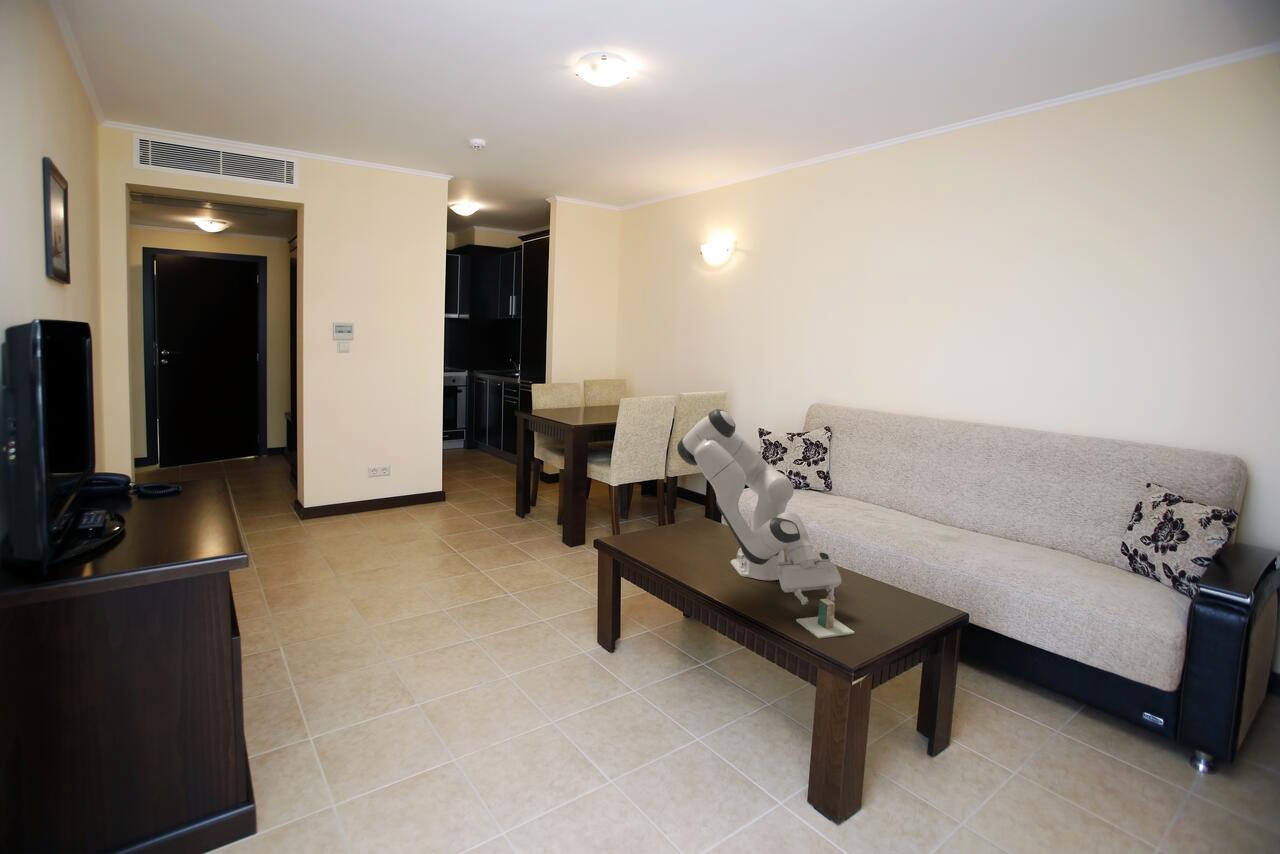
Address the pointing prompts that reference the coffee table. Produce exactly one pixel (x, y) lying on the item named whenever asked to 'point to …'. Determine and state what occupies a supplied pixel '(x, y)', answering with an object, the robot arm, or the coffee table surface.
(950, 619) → the coffee table surface
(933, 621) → the coffee table surface
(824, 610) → the card deck block
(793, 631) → the coffee table surface
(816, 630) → the sage mat
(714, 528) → the coffee table surface
